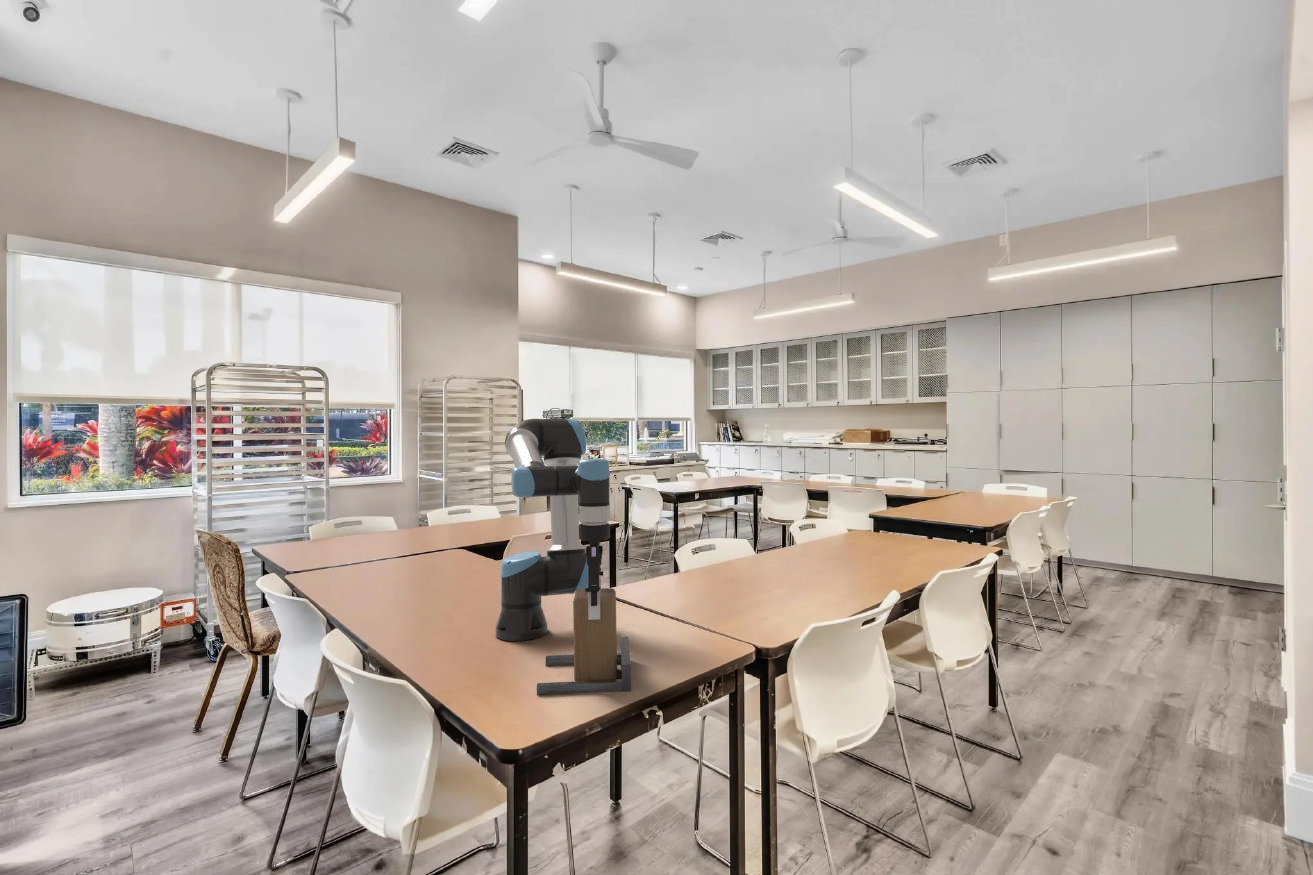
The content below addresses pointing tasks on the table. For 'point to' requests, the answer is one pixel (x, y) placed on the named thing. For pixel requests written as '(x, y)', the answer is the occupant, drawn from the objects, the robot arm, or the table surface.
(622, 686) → the end stop channel
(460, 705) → the table surface
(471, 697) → the table surface
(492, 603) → the table surface
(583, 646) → the wooden block
